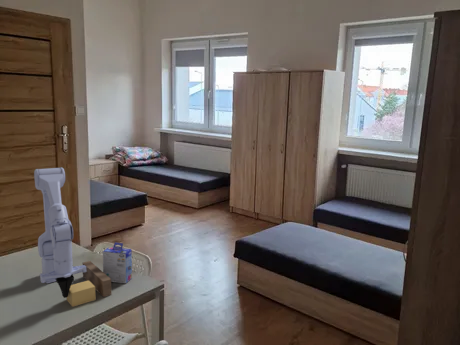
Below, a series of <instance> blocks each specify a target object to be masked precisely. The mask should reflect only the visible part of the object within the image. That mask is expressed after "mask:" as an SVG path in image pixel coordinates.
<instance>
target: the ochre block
mask: <svg viewBox="0 0 460 345" xmlns="http://www.w3.org/2000/svg"><path fill="white" fill-rule="evenodd" d="M96 297H97V296H96V289H95V286H94V285H93V284H92V283H91V282H90V281H89V280H88V281H87V280H85V281H81V282H78V283H74V284H73V283H72V284H71V287H70V290H69V294H68V297H66V301H67V302H68V303H69V304H70V306H71V307H72V308H73V307H77V306H80V305H83V304H87V303H89V302H94V301H96Z"/></svg>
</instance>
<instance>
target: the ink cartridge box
mask: <svg viewBox="0 0 460 345" xmlns="http://www.w3.org/2000/svg"><path fill="white" fill-rule="evenodd" d="M123 245H124V243H121V242H114V244H113V247H112V246H109V247H107V248H105V250H103V251H102V272H103V273H105V274H106V275H107V276H108V277H109V278H110V279H111V283H119V284H127V283H129V281H131V280H132V279H133V273H132V272H133V263H132V262H133V260H132V259H133V257H132V255H133V254H132V251H133V250H132V249H131V248H123V247H124V246H123Z"/></svg>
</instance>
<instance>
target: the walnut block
mask: <svg viewBox="0 0 460 345" xmlns="http://www.w3.org/2000/svg"><path fill="white" fill-rule="evenodd" d="M82 265H85V266H86V271H87V272H82V277H83V279H84V280H85V281H88V280H89V281H90V282H91V283H92V284H93V285H94V286H95V291H97V293H99V295H101V296H102V298H104V297H109V296H112V282H111V279H110V278H109V277H108V276H107V275H106V274H105V273H103V270H101V269H100V268H99V267H98V266H97V265H95V264H94V263H93V261H91V260H88V261H84V262H82Z"/></svg>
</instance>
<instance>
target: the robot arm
mask: <svg viewBox="0 0 460 345" xmlns="http://www.w3.org/2000/svg"><path fill="white" fill-rule="evenodd" d="M33 171H34V172H33V173H34V174H33V178H34V187H35V189H36V190H38V191H41V194H42V201H43V212H44V213H43V215H44V227H45V228H44V230H45V231H44V232H43V233H42V234H41V235H39V237H38V238H37V250H38V256H39V257H40V258H41V270H42V271H41V273H40V274H39V278H40V279H39V280H40V282H41V283H42V284H43V283H46V284H52V283H55V282H56V283H57V284H58V287H59V288H60V291H61V295H62V297H63V299H64V298H66V299H67V297H68V294H69V290H70V287H71V285H73V283H74V280H75V277H74V275H76V274H77V275H78V274H81V273H83V272H87V271H86V266H85V265H83V264H82V265H75V266H73V265H74V264H73V263H74V262H73V245H72V244H73V243H72V240H74V228H73V225H72V222H71V220H70V219H69V216H68V210H67V207H66V205H64V204H63V203H62V193H61V188H63V187H64V184H65V182H66V172H65V168H63V167H62V166H61V167H52V168H51V167H50V168H49V167H48V168H36V169H35V170H33Z"/></svg>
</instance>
